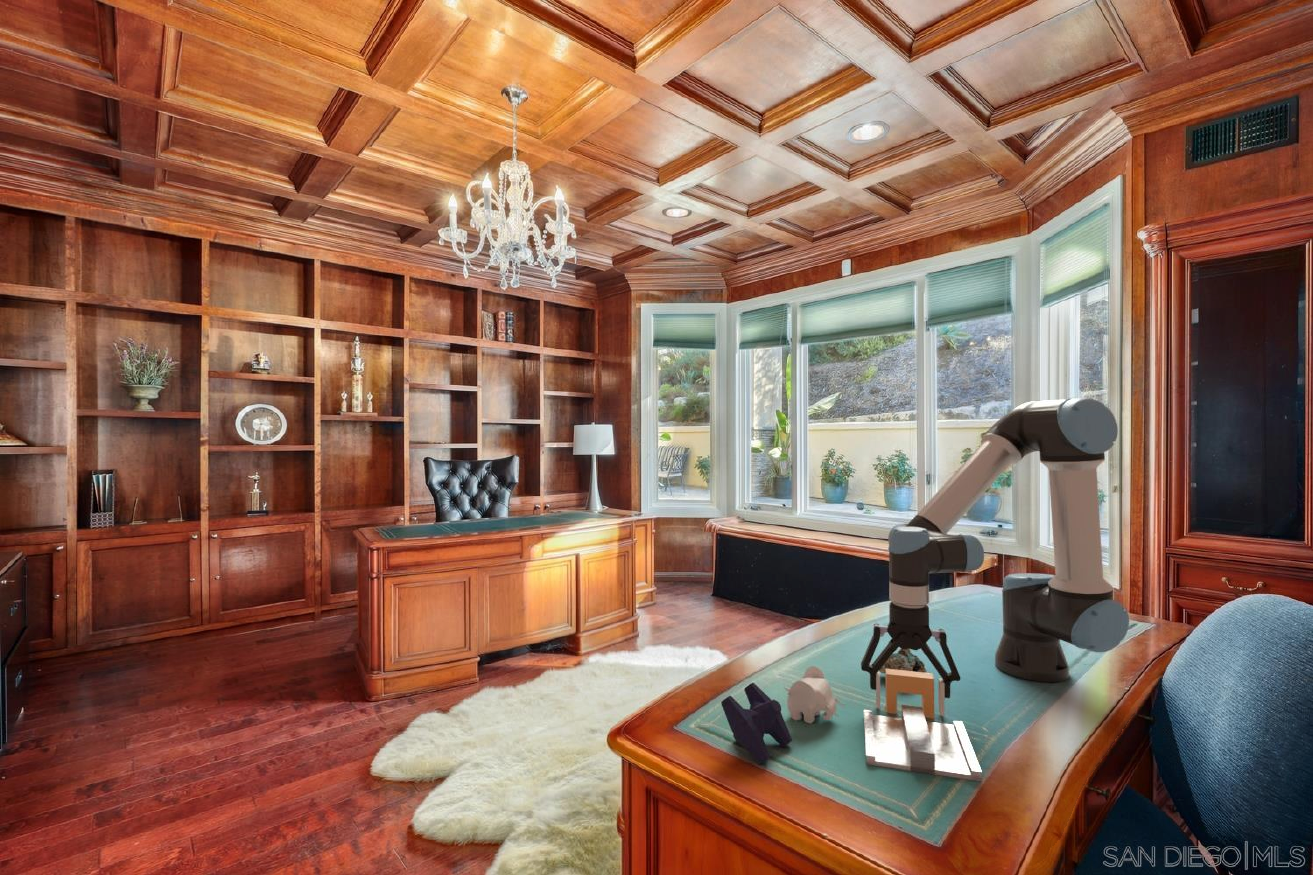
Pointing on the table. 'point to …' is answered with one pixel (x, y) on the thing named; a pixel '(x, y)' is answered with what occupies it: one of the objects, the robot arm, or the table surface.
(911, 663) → the mineral specimen
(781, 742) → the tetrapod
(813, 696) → the elephant figurine
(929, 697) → the clip
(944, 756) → the rail
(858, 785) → the table surface
